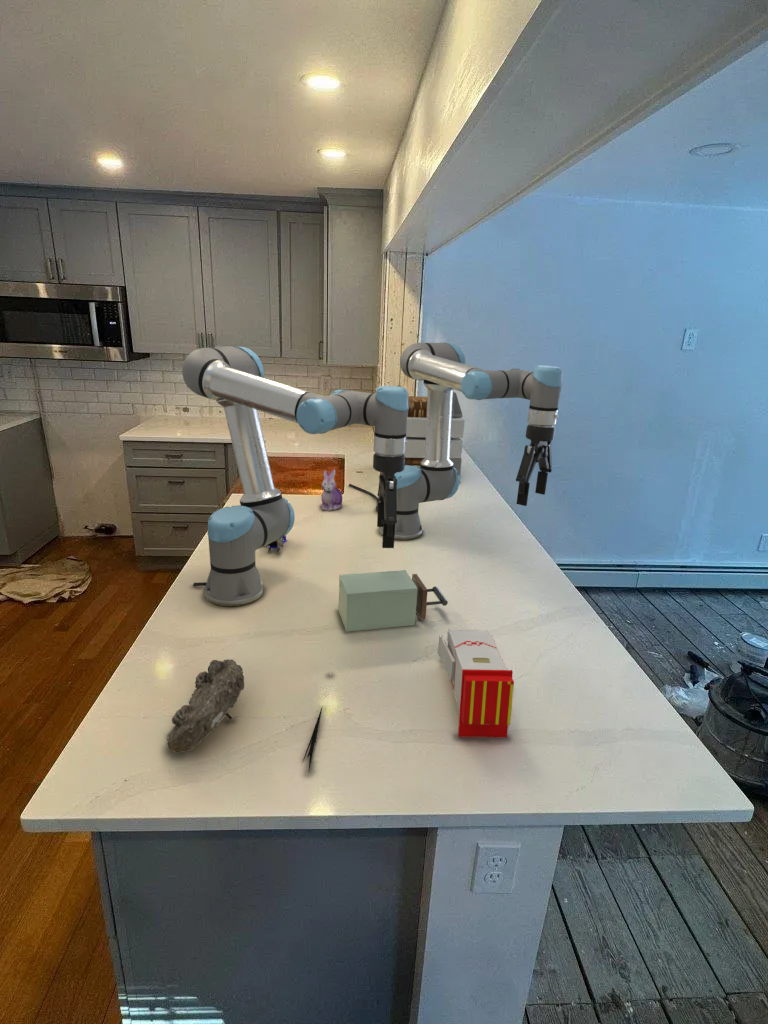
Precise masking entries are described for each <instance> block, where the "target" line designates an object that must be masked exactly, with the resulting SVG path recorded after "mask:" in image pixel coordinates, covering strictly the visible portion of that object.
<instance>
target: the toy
mask: <svg viewBox="0 0 768 1024" xmlns="http://www.w3.org/2000/svg"><path fill="white" fill-rule="evenodd" d="M446 640H447V643H446V641H445V639H444V636H443V635H442V634H439V637H438V646H437V656H438V657H439V659H440V661H441V663H442V666H443V668H444V670H445V672H446V674H447V677H448V679H449V681H450V684H451V687H452V690H453V693H454V697H455V701H456V705H457V708H458V711H459V714H458V715H459V716H458V730H457V731H458V732H457V737H458V738H508V731H509V726H510V725H511V717H512V707H513V697H514V696H513V695H514V684H515V680H514V679H513V673H514V671H513V670H512V669H508V667H507V665H506V662H505V661H504V659H503V658H502V655H501V653H500V651H499V649H498V647H497V643H496V639H495V637H494V635H493V634H491V632H490V631H489V629H467V628H466V629H465V628H463V629H461V628H460V629H459V628H448V630H447V639H446Z"/></svg>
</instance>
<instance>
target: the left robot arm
mask: <svg viewBox="0 0 768 1024" xmlns="http://www.w3.org/2000/svg"><path fill="white" fill-rule="evenodd" d="M181 371H182V372H181V375H182V380H183V381H184V383H185V385H186V387H187V388H188V389H189V390H190V391H191V392H192V393H194V394H196V395H198V396H200V397H203V398H206V399H210V400H212V401H215V402H216V403H217V404H218V405H220V406H221V407H222V408H223V410H224V415H225V418H226V423H227V428H228V431H229V436H230V441H231V444H232V445H231V446H232V449H233V454H234V458H235V462H236V466H237V470H238V475H239V480H240V483H241V488H242V491H243V494H242V496H241V497H240V498H239V504H240V505H238V504H237V505H231V506H225V507H221V508H219V509H217V510H216V511H214V512H212V513H211V515H210V516H209V518H208V521H207V532H206V533H207V537H208V550H209V563H210V564H209V565H210V571H209V573H208V576H207V579H206V580H207V581H205V582H204V581H203V582H201V581H199V582H193V583H192V586H193V587H205V588H204V594H205V599H206V600H207V601H208V602H210V603H211V604H213V605H216V606H220V607H240V606H245V605H248V604H251V603H254V602H256V601H257V600H259V599H260V598H261V597H262V596H263V594H264V580H263V578H261V575H260V573H259V571H258V568H257V566H256V565H257V564H256V551H257V550H260V549H261V548H263V547H264V546H266V545H268V544H270V543H272V542H274V541H277V540H279V539H281V538H282V537H283V536H285V535H286V536H287V535H288V534H289V533H290V532H291V531H292V529H293V527H294V524H295V517H296V516H295V511H294V508H293V505H292V504H291V503H290V502H289V500H287V498H285V497H283V495H282V494H283V493H282V491H281V490H279V489H278V488H276V487H275V484H274V479H273V475H272V470H271V466H270V461H269V457H268V452H267V447H266V443H265V438H264V433H263V427H262V424H261V420H260V415H259V412H262V413H265V414H268V415H271V416H274V417H278V418H280V419H283V420H286V421H289V422H292V423H296V424H298V426H299V428H301V429H302V430H303V432H305V433H307V434H310V435H317V434H319V435H321V434H327V433H328V432H331V431H335V430H337V429H341V428H344V427H348V426H349V427H350V426H352V425H362V426H369V427H373V429H374V434H373V452H374V454H373V456H372V458H373V459H372V469H374V471H376V472H378V473H379V476H378V488H377V493H376V494H377V495H376V496H377V498H378V501H379V502H378V512H377V521H376V527H377V528H379V527H383V535H382V543H381V544H382V545H381V548H382V549H394V548H395V539H394V536H395V524H396V523H397V479H396V476H394V474H395V473H397V472H402V471H403V470H404V467H405V456H404V453H405V447H406V446H405V444H408V440H406V430H407V417H408V409H409V406H408V396H409V391H408V389H407V388H405V387H403V386H401V387H398V385H380V386H378V387H377V388H376V391H375V393H371V392H364V391H356V390H352V389H349V388H348V389H336V390H334V391H333V392H332V393H331V394H330V395H321V394H318V393H314V392H311V391H310V390H306V389H303V388H299V387H296V386H292V385H289V384H285V383H282V382H279V381H275V380H274V379H269V378H266V377H265V371H264V366H263V362H262V360H261V359H260V357H259V356H258V354H257V353H256V352H254V351H252V349H250V348H248V347H245V346H237V345H229V346H217V347H216V346H215V347H201V348H197V349H194V350H193V351H191V352H190V353H188V355H187V356H186V357H185V359H184V360H183V363H182V368H181ZM389 517H393V518H389Z"/></svg>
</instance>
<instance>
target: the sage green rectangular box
mask: <svg viewBox="0 0 768 1024" xmlns="http://www.w3.org/2000/svg"><path fill="white" fill-rule="evenodd" d="M338 581H339V582H338V613H339V616H340V619H341V623H342V624H343V627H344V630H345V632H346V633H348V632H359V631H369V630H370V631H371V630H379V629H388V628H398V627H399V628H401V627H409V626H410V627H411V626H415V625H416V615H417V612H416V602H417V587H416V585H415V584H414V582H413V581H412V577H411V576H410V574H409V573H408V571H407V570H406V569H403V570H389V571H374V572H363V573H347V574H346V573H345V574H339V576H338Z"/></svg>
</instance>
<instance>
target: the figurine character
mask: <svg viewBox="0 0 768 1024" xmlns="http://www.w3.org/2000/svg"><path fill="white" fill-rule="evenodd" d="M286 542H288V539H287V535H285V536H283V537H282V538H281V539H279V540H277V541H274V542H272V543H270V544H268V545H266V546H264V547H262V548H264V549H268V550H267V552H268V553H271V552H272V549H277V550H276V553H280V550H281V549H283V548H284V544H285V543H286Z"/></svg>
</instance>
